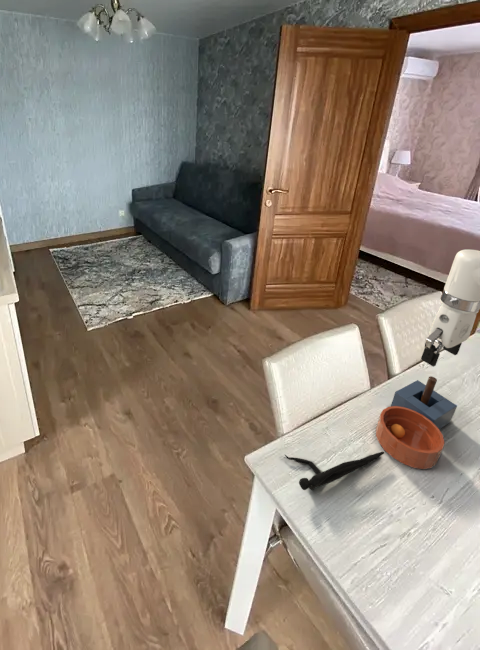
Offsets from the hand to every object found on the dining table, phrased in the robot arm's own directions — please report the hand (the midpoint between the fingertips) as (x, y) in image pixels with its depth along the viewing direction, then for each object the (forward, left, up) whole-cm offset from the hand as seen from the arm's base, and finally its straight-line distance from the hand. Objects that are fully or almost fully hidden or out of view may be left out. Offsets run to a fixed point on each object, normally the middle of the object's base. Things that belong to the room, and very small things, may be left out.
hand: (439, 357), depth 89 cm
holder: (0, 0, -20) cm, 20 cm away
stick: (0, 0, -20) cm, 20 cm away
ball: (-2, +13, -18) cm, 22 cm away
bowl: (-4, +13, -20) cm, 24 cm away
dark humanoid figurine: (0, +34, -20) cm, 39 cm away
